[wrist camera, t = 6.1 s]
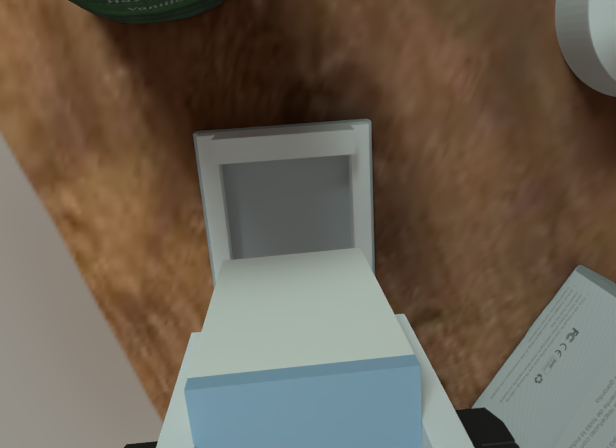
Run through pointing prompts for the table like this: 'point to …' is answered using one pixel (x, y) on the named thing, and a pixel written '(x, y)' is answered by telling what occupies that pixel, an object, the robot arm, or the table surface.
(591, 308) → the hard drive box
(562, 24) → the wall hook
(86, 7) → the coffee jar
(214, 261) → the rail
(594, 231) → the table surface
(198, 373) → the module
